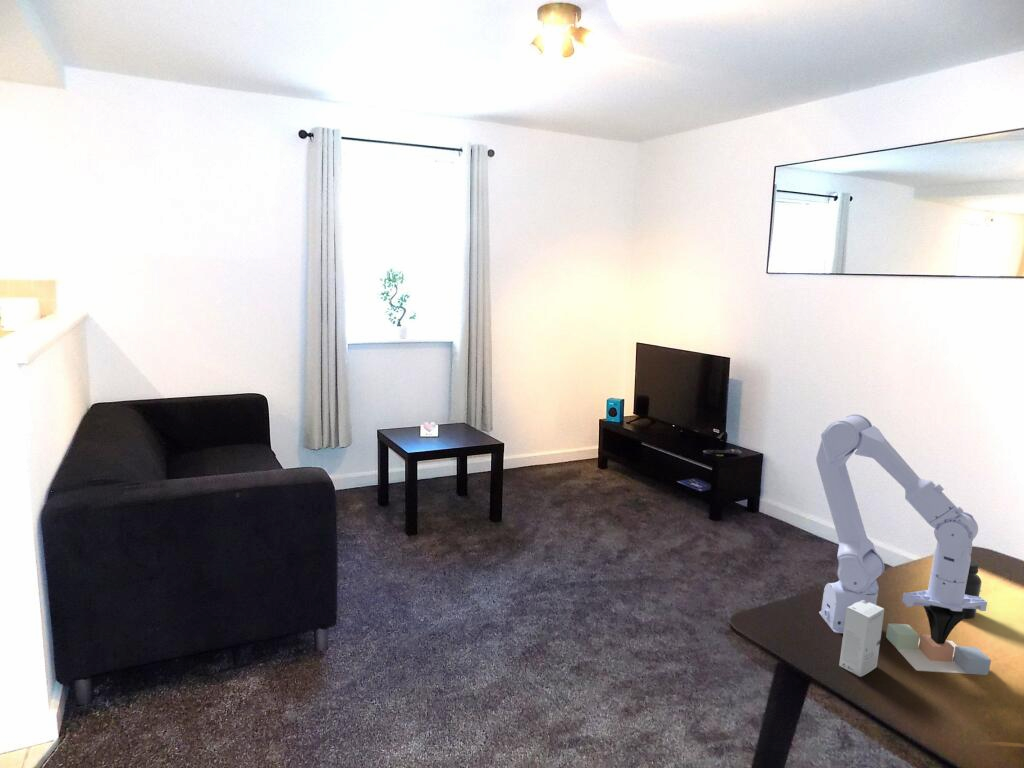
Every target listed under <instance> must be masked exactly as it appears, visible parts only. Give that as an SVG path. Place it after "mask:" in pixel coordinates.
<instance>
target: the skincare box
mask: <svg viewBox="0 0 1024 768" xmlns="http://www.w3.org/2000/svg"><path fill="white" fill-rule="evenodd" d="M884 613H885V608H884V607H881V606H880V605H877V604H876V605H874V604H872V603H870V602H867V601H865V600H862V601H860V602H857V603H854V604H853V605H852V606H849V607H847V610H846V618H845V626H844V633H842V634H843V635H842V641H841V649H840V657H839V664H838V666H839V667H841V668H843V669H845V670H847V671H848V672H850V673H852V674H854V675H856V676H857V677H860V678H861V677H864V676H865V675H867V674H868V673H870V672H872V671H874V669H876V668H877V667H878V661H879V660H878V659H879V655H880V654H879V652H880V646H881V640H882V631H883V623H884V615H885V614H884Z"/></svg>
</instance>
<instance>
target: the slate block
mask: <svg viewBox="0 0 1024 768" xmlns="http://www.w3.org/2000/svg"><path fill="white" fill-rule="evenodd" d="M953 661H954V662H955V663H956V664H957V665H958V666H959V667H960V668H961V669H962V670H963V671H964V672H965V673H969V674H970V675H982V674H986V675H985V676H988V675H989V672H990V667H991V663H992V659H990V658H989V657H988V655H986V654H985V653H984V652H983V651H982V650H981V649H980V648H979V647H975V646H974V647H973V646H962V645H961V646H960V645H957V646H955V651H954V657H953ZM965 673H964V674H965ZM969 674H968V675H969Z"/></svg>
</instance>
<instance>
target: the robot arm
mask: <svg viewBox="0 0 1024 768" xmlns="http://www.w3.org/2000/svg"><path fill="white" fill-rule="evenodd" d="M820 436H821V441H820V443H819V448H818V451H817V454H816V465H817V468H818V472H819V476H820V480H821V482H822V487H823V490H824V494H825V497H826V500H827V504H828V507H829V511H830V514H831V518H832V522H833V525H834V528H835V533H836V536H837V539H838V542H839V543H838V549H837V557H836V558H837V560H838V568H837V578H838V581H836V582H830V583H829V582H828V583H826V585H825V586H824V589H823V595H822V602H821V607H820V608H821V610H820V611H819V612H818V613H819V615H820V616H821V617H822V619H823V620H824V621H825V623H827V626H829V628H830V629H831V630H832V631H833V632H834V633H836V634H843V633H844V626H845V618H846V610H847V607H849V606H852V605H853V604H854V603H857V602H860V601H862V600H865V601H867V602H870V603H872V604H874V605H877V602H878V595H879V589H880V588H879V585H878V581H877V580H878V579H877V578H879V577H880V576H882V575H883V574H884V571H885V563H884V559H883V558H882V556H881V555H880V554H879V553H878V552H877V551H876V549H875V545H874V542H872V540H871V539H869V538H868V536H867V534H866V533H867V532H866V530H865V527H864V524H863V519H862V516H861V513H860V509H859V505H858V502H857V499H856V496H855V492H854V488H853V485H852V481H851V478H850V475H849V471H848V469H847V465H846V464H847V462H848V460H849V459H850V458H851V456H852V455H853V454H854V455H856V456H860V457H866V458H871V459H873V460H874V461H875V462H877V464H879V465H880V466H881V467H882V469H884V470H885V471H886V472H887V473H888V474H889V475H890V476H891V477H892V478H893V479H894V480H895V481H896V482H897V483H898V484H899V485H900V486H901V487H902V488H903V489H904V491H905V492H904V493H905V495H904V496H905V500H906V501H907V503H908V504H910V505H911V507H913V509H914V510H915V511H916V512H917V513H918V514H919V515H920V516H921V518H923V520H924V521H925V522H926V523H927V524H928V525H929V526H930V527H931V528H933V529H934V532H933V534H934V537H935V540H936V547H935V548H934V553H933V557H932V564H931V565H932V566H931V570H930V576H929V581H928V588H927V589H925V590H919V591H911V592H903V593H902V594H903V595H902V599H901V601H902V603H903V604H904V605H905V606H906V607H907V608H909V607H910V608H913V607H914V606H919V607H920V606H921V607H923V609H924V611H925V614H926V616H927V620H928V624H929V630H930V635H931V639H932V640H934V641H935V642H936V643H937V644H944V643H945V641H946V640H947V639H948V637H949V635H950V634H951V632H952V631H953V629H955V627H956V626H957V625H958V624H959V623H960V622H962V621H964V613H963V612H961V611H962V609H963V608H969V609H977V610H979V611H981V612H986V611H987V606H988V601H987V600H985V599H984V598H983V597H981V596H979V597H977V596H970V595H965V589H966V583H967V578H968V572H969V567H970V561H971V560H972V556H971V554H972V552H973V541H974V539H975V538H976V537H977V535H978V532H979V525H978V523H977V521H976V520H975V518H974V516H973V515H972V514H971V513H969V512H967V511H964V510H963V508H962V507H960V506H958V507H957V506H956V505H955V504H954V503H953V501H951V499H950V498H948V496H947V495H946V494H945V493H944V492H943V491H944V490H945V489H944V487H943V486H942V485H941V484H940V483H937V484H935V483H934V482H933V481H932V480H929V479H924V478H923V479H922V478H920V477H919V475H917V473H916V472H915V471H914V469H913V468H911V466H910V465H909V464H908V463H907V461H906V460H905V459H904V458H903V457H902V456H901V455H900V453H899V452H898V451H897V450H896V449H895V448H894V447H893V446H892V444H891V443H890V442H889V441H888V440H887V439H886V438H885V435H883V433H882V431H881V430H880V429H879V428H878V427H876V426H875V425H872V423H871V421H870V420H869V419H868V418H867V417H865V416H864V415H861V414H850V415H847V416H846V417H845V418H842V419H840V420H839V419H838V420H834V421H833V422H831V423H830V424H829V425H828V426H827V427H826V428H825V429H824V430H823V432H822V433H821V434H820Z"/></svg>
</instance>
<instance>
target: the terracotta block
mask: <svg viewBox="0 0 1024 768" xmlns="http://www.w3.org/2000/svg"><path fill="white" fill-rule="evenodd" d="M919 639H920V642H919V649H920V650H921V651H922V652H923V653H924V654H925V656H926V657H927V658H928V659H929V660H931V661H948V662H952V658H953V652H954V647H953V646H952V645H951V644H950V643H949V642H948V641H947V639H946V641H945V643H944V644H937V643H936V642H935V641H934V640H932V639H931V634H920V637H919Z"/></svg>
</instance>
